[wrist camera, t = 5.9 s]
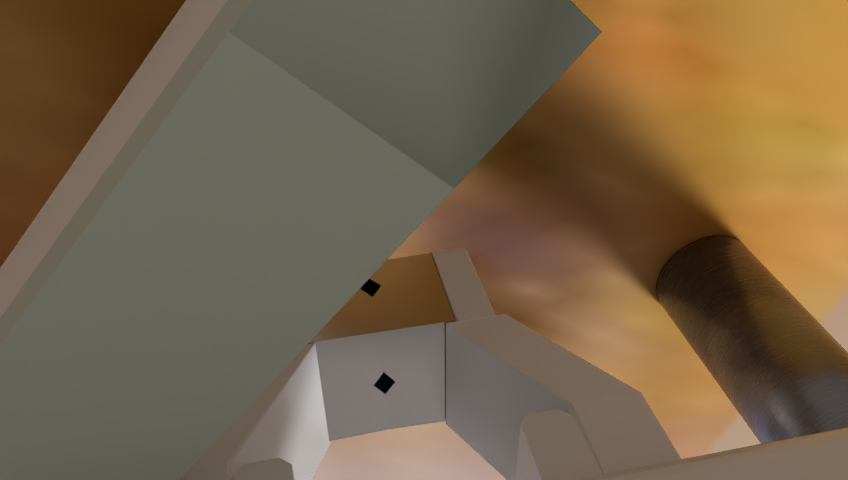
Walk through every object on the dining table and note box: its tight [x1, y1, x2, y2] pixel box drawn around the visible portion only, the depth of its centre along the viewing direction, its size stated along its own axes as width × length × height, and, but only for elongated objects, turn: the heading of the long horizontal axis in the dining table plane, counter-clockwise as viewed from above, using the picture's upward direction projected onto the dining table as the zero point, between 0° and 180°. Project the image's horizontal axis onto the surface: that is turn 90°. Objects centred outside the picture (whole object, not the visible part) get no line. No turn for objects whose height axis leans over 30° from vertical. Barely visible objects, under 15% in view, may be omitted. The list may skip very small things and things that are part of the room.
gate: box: [0, 0, 602, 480], centre depth 8 cm, size 13×2×5 cm, turn 138°
